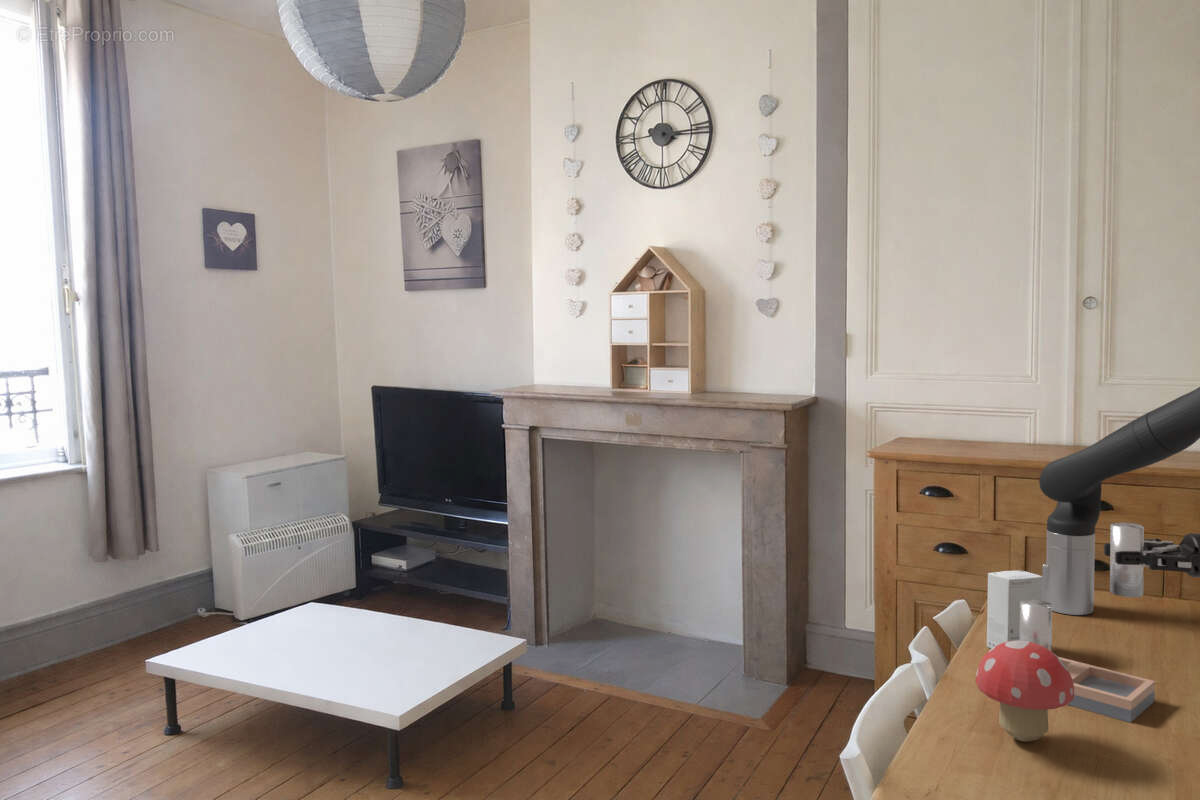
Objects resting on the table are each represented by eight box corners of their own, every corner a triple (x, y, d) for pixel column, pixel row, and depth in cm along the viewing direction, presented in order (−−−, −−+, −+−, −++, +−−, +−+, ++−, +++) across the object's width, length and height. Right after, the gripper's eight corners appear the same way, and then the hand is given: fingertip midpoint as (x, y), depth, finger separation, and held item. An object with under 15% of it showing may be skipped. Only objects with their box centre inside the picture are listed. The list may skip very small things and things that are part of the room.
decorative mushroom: (989, 712, 141) (990, 622, 140) (1082, 735, 132) (1084, 639, 131) (963, 744, 131) (964, 647, 129) (1062, 771, 122) (1064, 667, 121)
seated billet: (1014, 670, 153) (1015, 603, 152) (1026, 663, 156) (1027, 597, 155) (1044, 679, 149) (1045, 610, 148) (1055, 670, 152) (1057, 603, 151)
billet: (1105, 593, 154) (1106, 526, 153) (1115, 587, 157) (1116, 521, 156) (1137, 599, 150) (1138, 530, 149) (1147, 592, 153) (1147, 525, 152)
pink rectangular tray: (990, 682, 153) (990, 663, 153) (1018, 665, 160) (1018, 646, 160) (1130, 722, 136) (1131, 701, 136) (1154, 701, 143) (1154, 681, 143)
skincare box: (1007, 657, 164) (1008, 580, 163) (984, 646, 170) (985, 571, 168) (1043, 651, 166) (1044, 575, 165) (1019, 641, 172) (1020, 567, 171)
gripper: (1200, 525, 156) (1096, 523, 160) (1240, 544, 142) (1125, 542, 146) (1199, 566, 157) (1095, 563, 161) (1239, 589, 143) (1124, 586, 147)
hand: (1110, 553), depth 153 cm, fingers closed on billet, 5 cm apart
